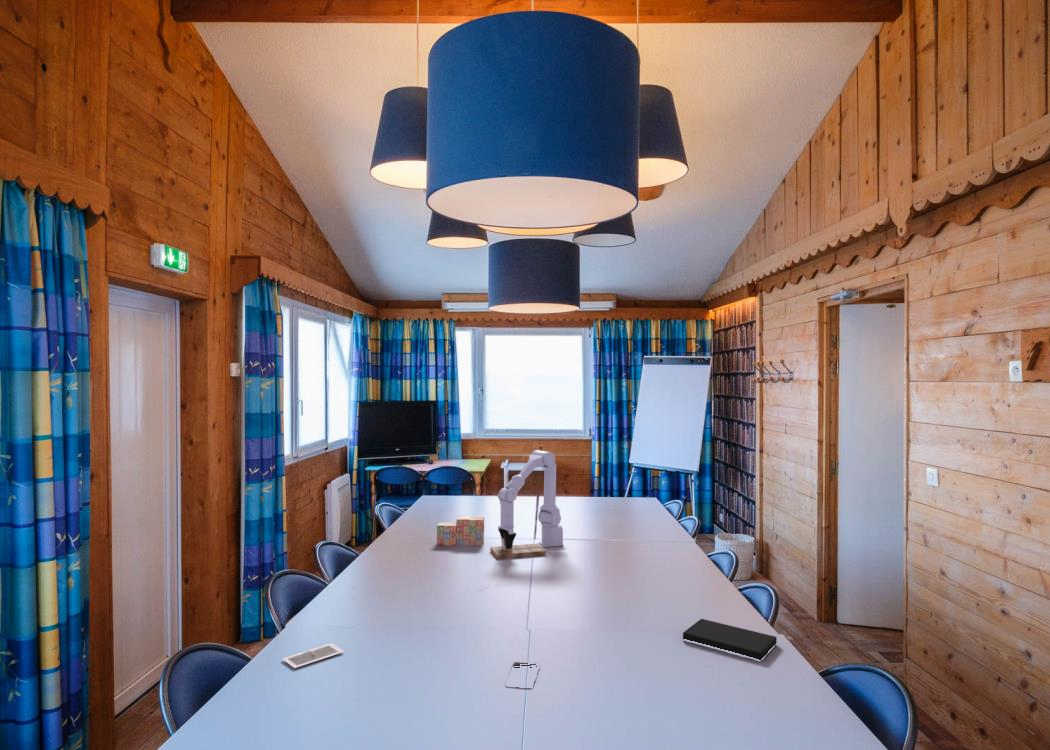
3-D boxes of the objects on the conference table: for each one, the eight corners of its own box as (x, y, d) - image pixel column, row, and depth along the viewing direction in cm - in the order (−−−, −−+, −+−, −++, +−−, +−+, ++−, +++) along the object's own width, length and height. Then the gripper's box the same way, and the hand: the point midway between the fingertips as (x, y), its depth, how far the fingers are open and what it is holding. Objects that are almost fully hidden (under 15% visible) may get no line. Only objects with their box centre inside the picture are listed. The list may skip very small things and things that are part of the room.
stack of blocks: (436, 545, 303) (436, 518, 303) (439, 542, 309) (439, 515, 309) (482, 546, 302) (482, 519, 302) (484, 542, 308) (484, 516, 308)
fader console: (537, 547, 299) (537, 540, 299) (546, 555, 287) (546, 548, 287) (490, 551, 292) (490, 544, 292) (497, 559, 281) (497, 551, 281)
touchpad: (344, 655, 188) (344, 647, 188) (294, 672, 178) (294, 664, 178) (331, 646, 194) (331, 639, 194) (281, 662, 183) (281, 654, 183)
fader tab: (510, 547, 291) (510, 536, 291) (512, 550, 287) (512, 538, 287) (501, 548, 290) (501, 537, 290) (503, 550, 286) (503, 539, 286)
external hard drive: (761, 663, 183) (761, 653, 183) (682, 642, 197) (682, 632, 197) (776, 646, 194) (776, 636, 194) (701, 627, 208) (701, 618, 208)
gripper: (494, 512, 294) (494, 543, 294) (502, 519, 280) (502, 551, 280) (509, 511, 296) (509, 541, 296) (518, 518, 282) (518, 550, 282)
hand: (507, 546), depth 288 cm, fingers open, 7 cm apart
